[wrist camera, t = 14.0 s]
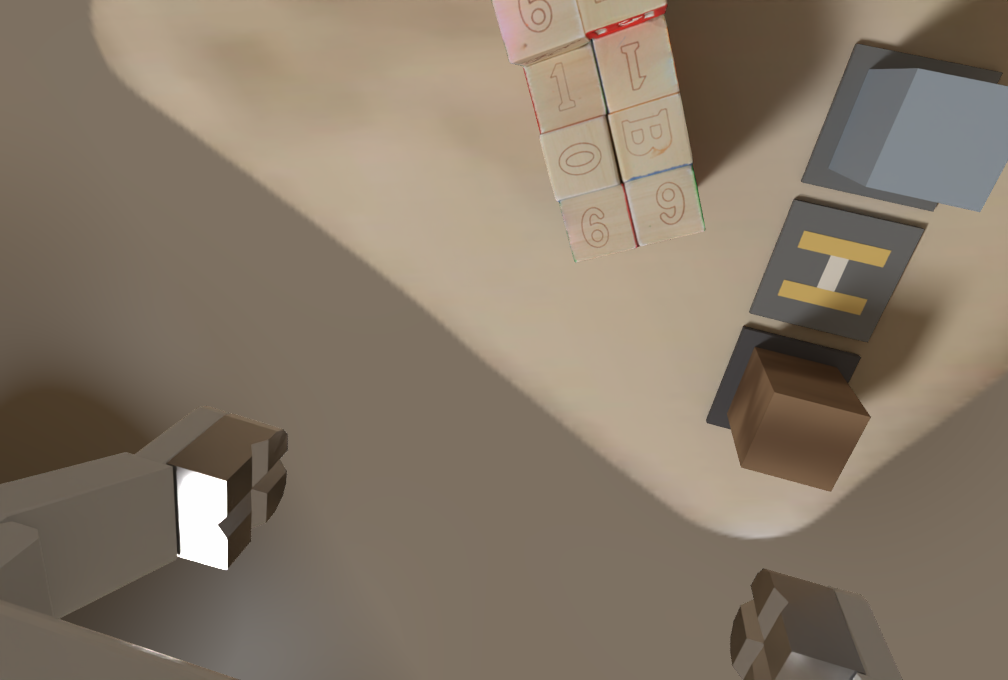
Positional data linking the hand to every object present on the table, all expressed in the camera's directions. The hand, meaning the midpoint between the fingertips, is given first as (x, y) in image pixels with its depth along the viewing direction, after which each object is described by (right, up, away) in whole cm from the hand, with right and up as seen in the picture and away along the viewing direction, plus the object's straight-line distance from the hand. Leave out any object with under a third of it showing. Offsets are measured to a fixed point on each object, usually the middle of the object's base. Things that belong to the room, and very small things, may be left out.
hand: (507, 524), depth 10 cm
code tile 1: (+19, +7, +25) cm, 32 cm away
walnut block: (+17, 0, +28) cm, 33 cm away
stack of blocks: (+5, +21, +23) cm, 31 cm away
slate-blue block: (+20, +14, +21) cm, 33 cm away
